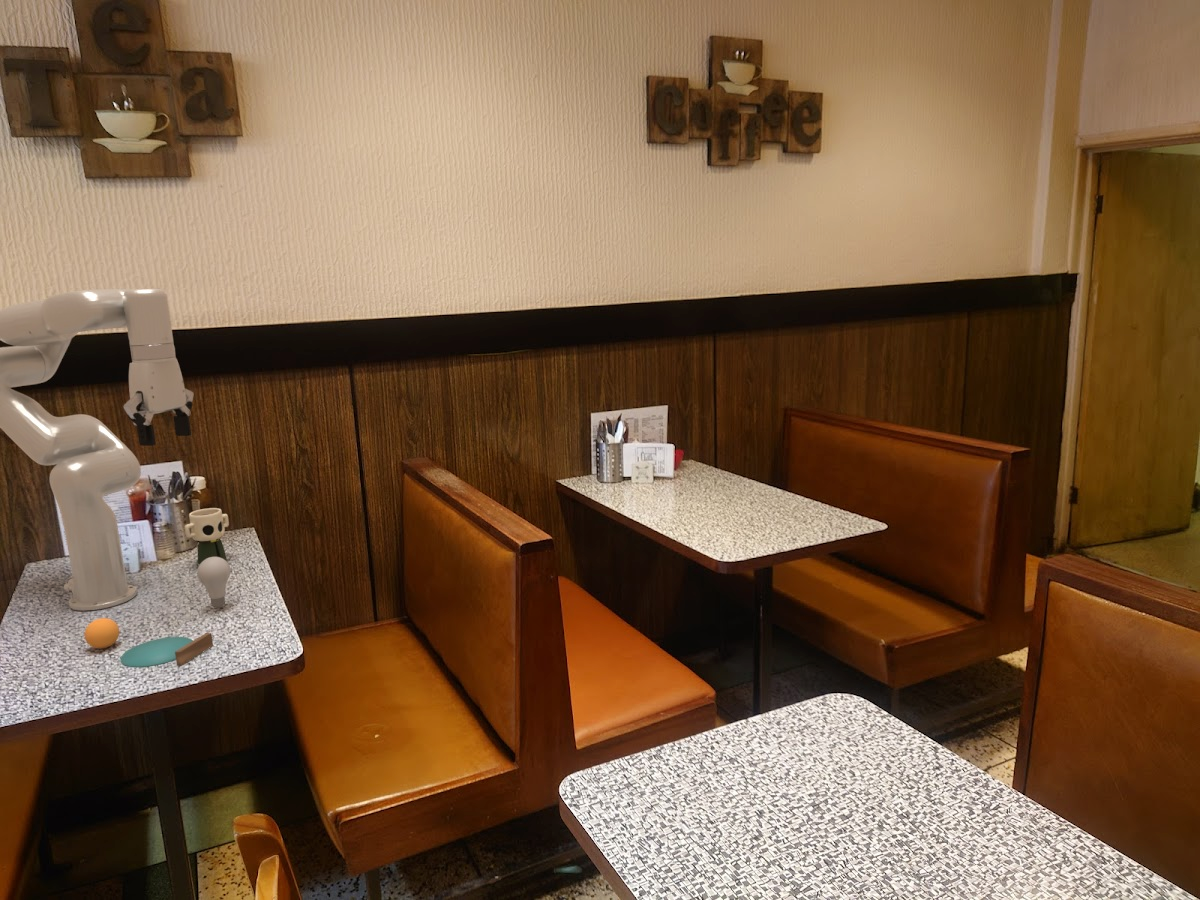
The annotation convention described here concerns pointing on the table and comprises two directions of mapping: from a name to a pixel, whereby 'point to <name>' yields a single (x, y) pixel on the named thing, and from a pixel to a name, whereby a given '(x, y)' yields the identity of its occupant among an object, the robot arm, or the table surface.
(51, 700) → the table surface
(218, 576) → the lightbulb
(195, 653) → the stopper strip
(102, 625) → the ball
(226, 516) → the character mug
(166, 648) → the disc
